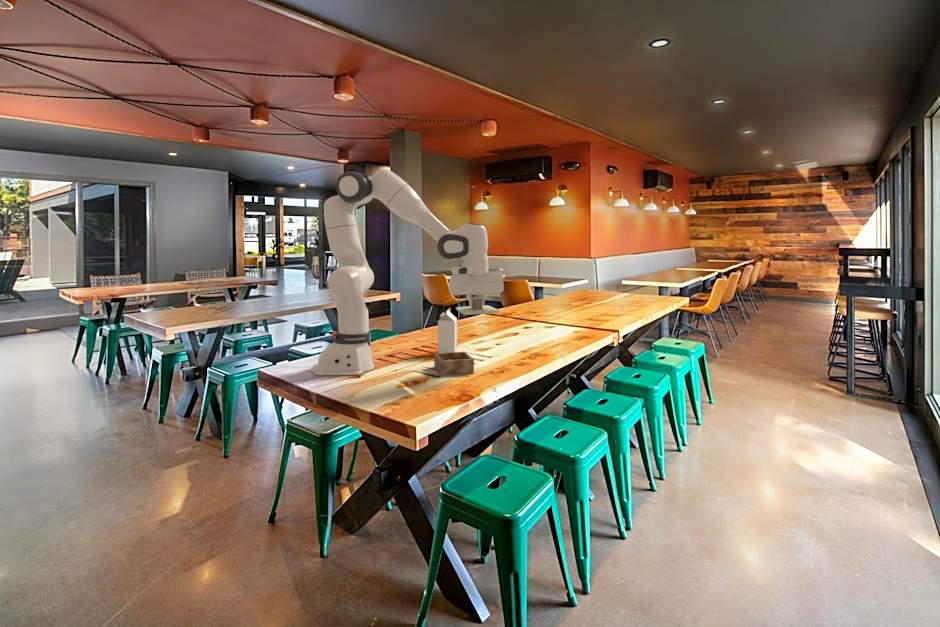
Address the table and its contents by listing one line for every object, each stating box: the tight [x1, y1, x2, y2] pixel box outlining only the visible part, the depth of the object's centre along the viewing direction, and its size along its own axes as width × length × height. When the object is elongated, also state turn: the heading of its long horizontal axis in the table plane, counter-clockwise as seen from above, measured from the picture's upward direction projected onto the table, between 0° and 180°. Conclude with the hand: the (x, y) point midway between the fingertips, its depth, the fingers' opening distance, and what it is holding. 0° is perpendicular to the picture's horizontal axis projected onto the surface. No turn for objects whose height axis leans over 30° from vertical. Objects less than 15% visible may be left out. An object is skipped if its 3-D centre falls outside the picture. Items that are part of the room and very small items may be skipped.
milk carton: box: [437, 308, 458, 353], centre depth 206 cm, size 7×7×19 cm
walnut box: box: [433, 351, 475, 377], centre depth 182 cm, size 12×12×6 cm
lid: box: [455, 297, 500, 316], centre depth 180 cm, size 13×13×4 cm
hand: (476, 306), depth 180 cm, fingers closed on lid, 2 cm apart
